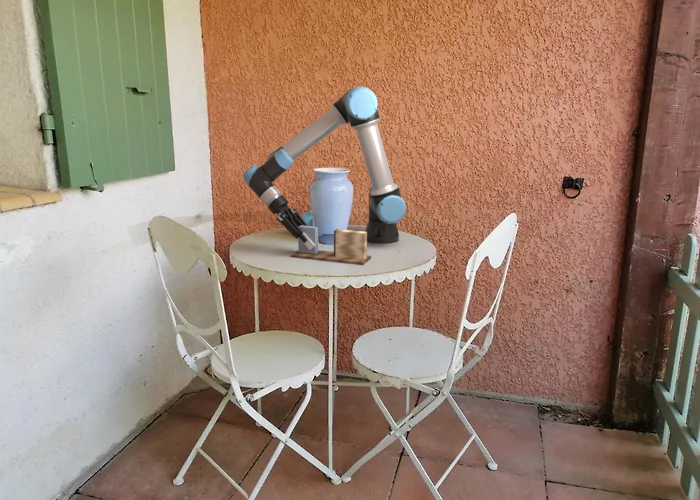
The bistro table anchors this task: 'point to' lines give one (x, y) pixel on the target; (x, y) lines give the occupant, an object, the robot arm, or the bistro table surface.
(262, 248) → the bistro table surface
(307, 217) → the blue round finned body
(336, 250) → the l-shaped wooden stand
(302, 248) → the pale blue rectangular block
